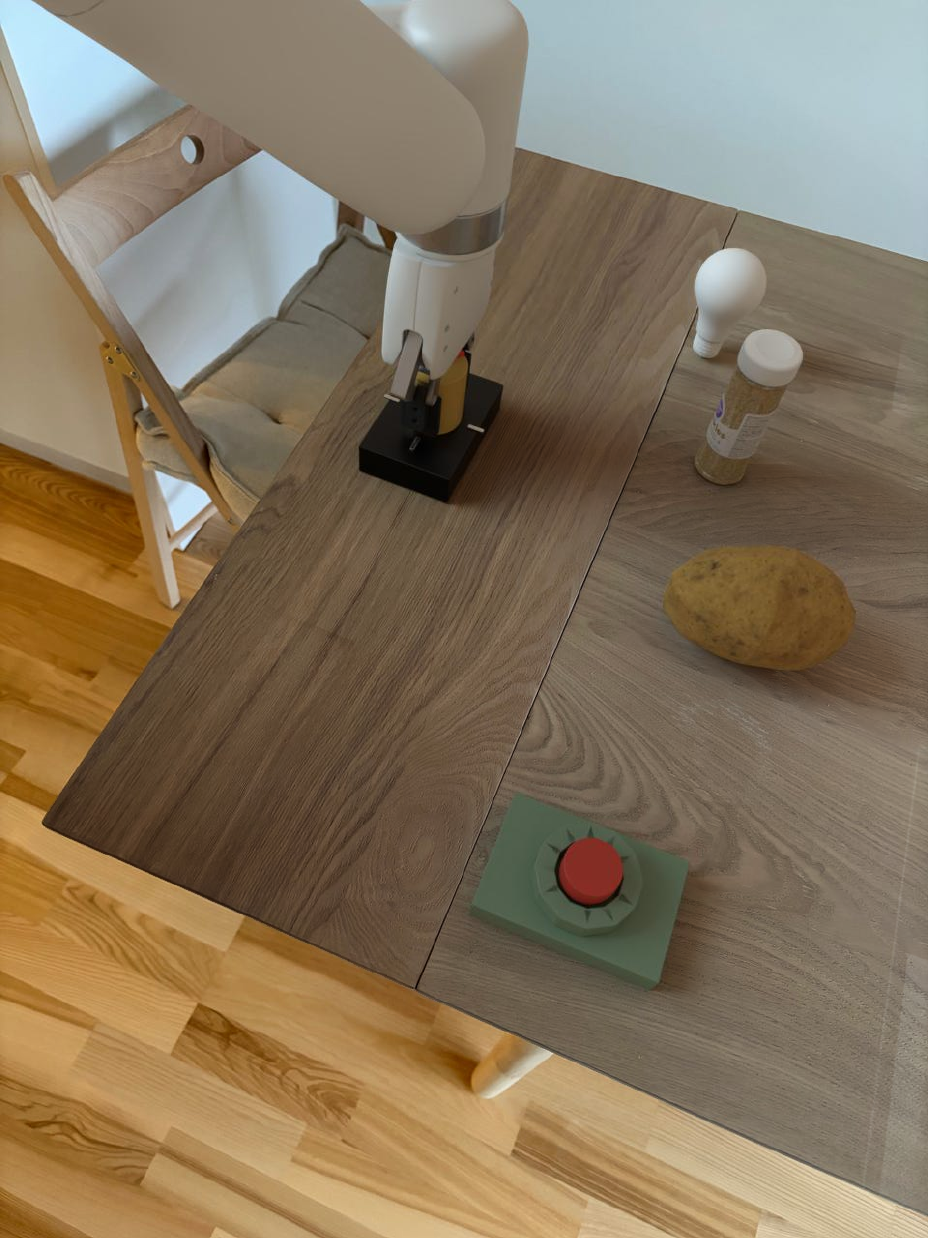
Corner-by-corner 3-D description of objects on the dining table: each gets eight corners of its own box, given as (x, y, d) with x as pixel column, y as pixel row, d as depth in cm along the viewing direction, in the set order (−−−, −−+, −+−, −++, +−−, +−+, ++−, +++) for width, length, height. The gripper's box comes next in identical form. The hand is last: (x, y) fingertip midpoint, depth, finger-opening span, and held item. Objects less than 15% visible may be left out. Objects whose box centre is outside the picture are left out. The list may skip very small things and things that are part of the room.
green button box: (468, 914, 59) (473, 896, 56) (510, 804, 63) (518, 780, 60) (649, 991, 58) (666, 976, 54) (681, 872, 62) (699, 852, 59)
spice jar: (686, 449, 83) (737, 327, 71) (735, 446, 83) (792, 324, 72) (702, 489, 80) (756, 369, 69) (752, 485, 81) (814, 366, 70)
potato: (705, 486, 68) (683, 577, 62) (883, 549, 67) (878, 647, 61) (662, 569, 76) (639, 657, 70) (821, 627, 75) (811, 720, 69)
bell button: (550, 891, 57) (555, 882, 55) (569, 838, 59) (574, 828, 57) (607, 914, 56) (613, 906, 55) (623, 860, 58) (630, 851, 57)
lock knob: (424, 442, 76) (428, 389, 72) (393, 405, 78) (395, 351, 74) (473, 421, 78) (480, 368, 73) (442, 385, 80) (446, 331, 75)
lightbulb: (665, 365, 88) (699, 265, 79) (679, 325, 92) (714, 225, 82) (728, 384, 88) (770, 286, 78) (740, 344, 91) (782, 244, 82)
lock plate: (452, 506, 77) (455, 480, 74) (353, 468, 78) (352, 442, 76) (504, 411, 83) (509, 384, 81) (412, 378, 85) (413, 351, 82)
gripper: (451, 128, 67) (436, 331, 83) (338, 259, 58) (345, 459, 74) (548, 161, 66) (515, 360, 81) (448, 299, 57) (431, 494, 73)
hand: (434, 405), depth 77 cm, fingers closed on lock knob, 4 cm apart
